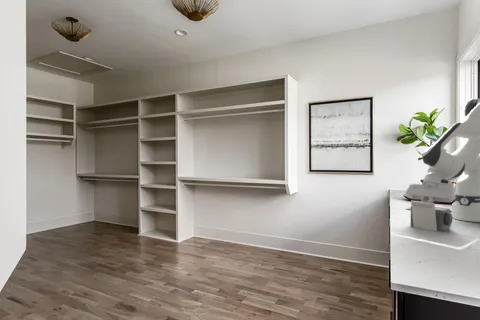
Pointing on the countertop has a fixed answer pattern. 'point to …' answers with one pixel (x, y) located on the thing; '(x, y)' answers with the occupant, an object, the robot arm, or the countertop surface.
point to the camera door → (424, 215)
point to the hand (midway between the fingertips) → (424, 205)
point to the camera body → (440, 218)
